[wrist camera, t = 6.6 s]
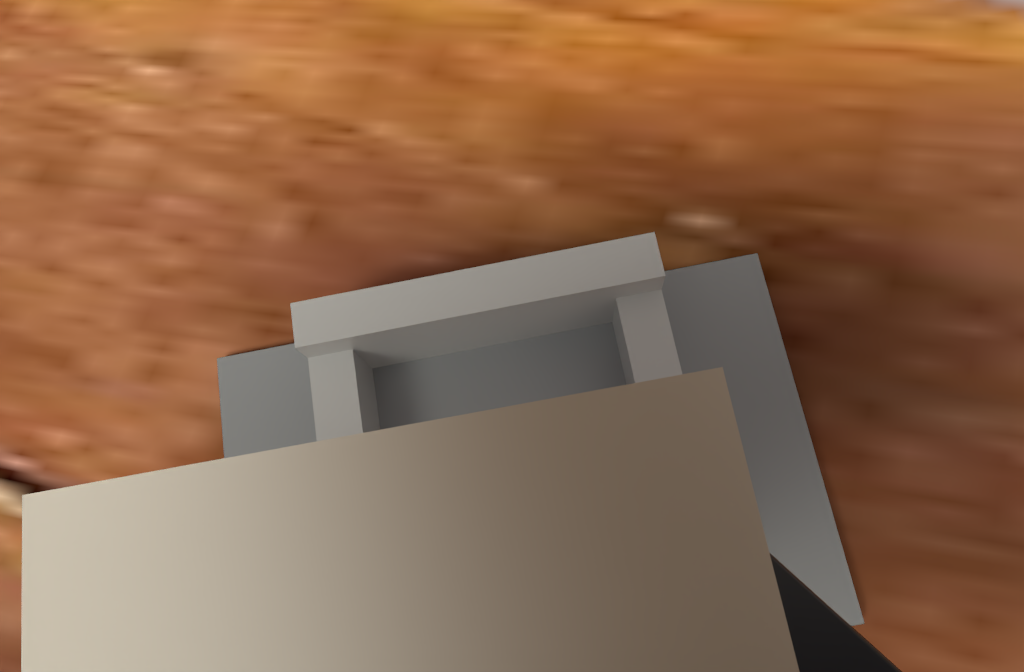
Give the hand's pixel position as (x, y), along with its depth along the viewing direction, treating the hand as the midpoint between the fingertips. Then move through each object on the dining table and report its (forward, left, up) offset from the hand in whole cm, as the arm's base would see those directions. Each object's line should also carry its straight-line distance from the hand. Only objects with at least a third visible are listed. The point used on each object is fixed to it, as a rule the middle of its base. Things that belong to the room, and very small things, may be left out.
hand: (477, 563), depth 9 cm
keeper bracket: (0, +3, -13) cm, 13 cm away
